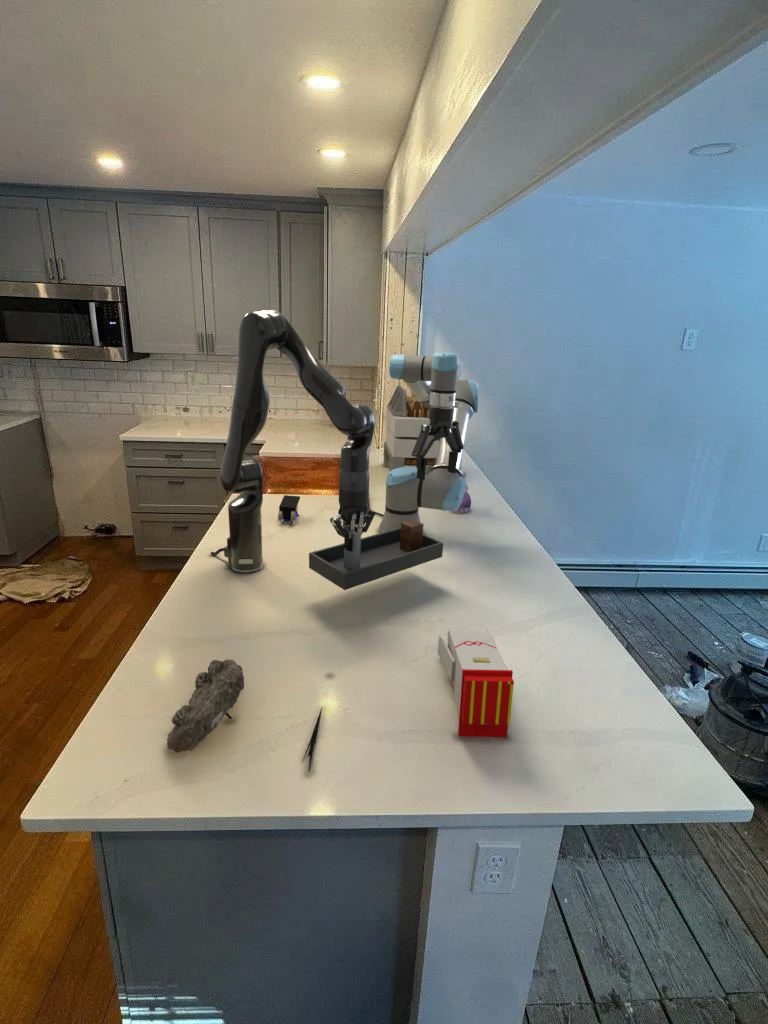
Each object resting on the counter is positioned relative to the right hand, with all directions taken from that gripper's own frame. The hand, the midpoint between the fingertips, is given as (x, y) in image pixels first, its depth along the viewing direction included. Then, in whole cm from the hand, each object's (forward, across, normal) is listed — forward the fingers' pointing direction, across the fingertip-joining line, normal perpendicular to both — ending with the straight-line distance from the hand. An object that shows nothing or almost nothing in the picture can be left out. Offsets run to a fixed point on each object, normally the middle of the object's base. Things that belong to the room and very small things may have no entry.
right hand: (436, 475), depth 175 cm
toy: (+27, -43, -55) cm, 75 cm away
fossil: (+27, -88, -30) cm, 97 cm away
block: (+16, -19, -10) cm, 27 cm away
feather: (+27, -73, -43) cm, 89 cm away
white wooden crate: (+27, +64, +72) cm, 100 cm away
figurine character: (+27, -21, +52) cm, 62 cm away
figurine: (+27, +41, +24) cm, 54 cm away
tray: (+17, -31, -10) cm, 37 cm away
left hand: (+11, -40, -10) cm, 43 cm away
